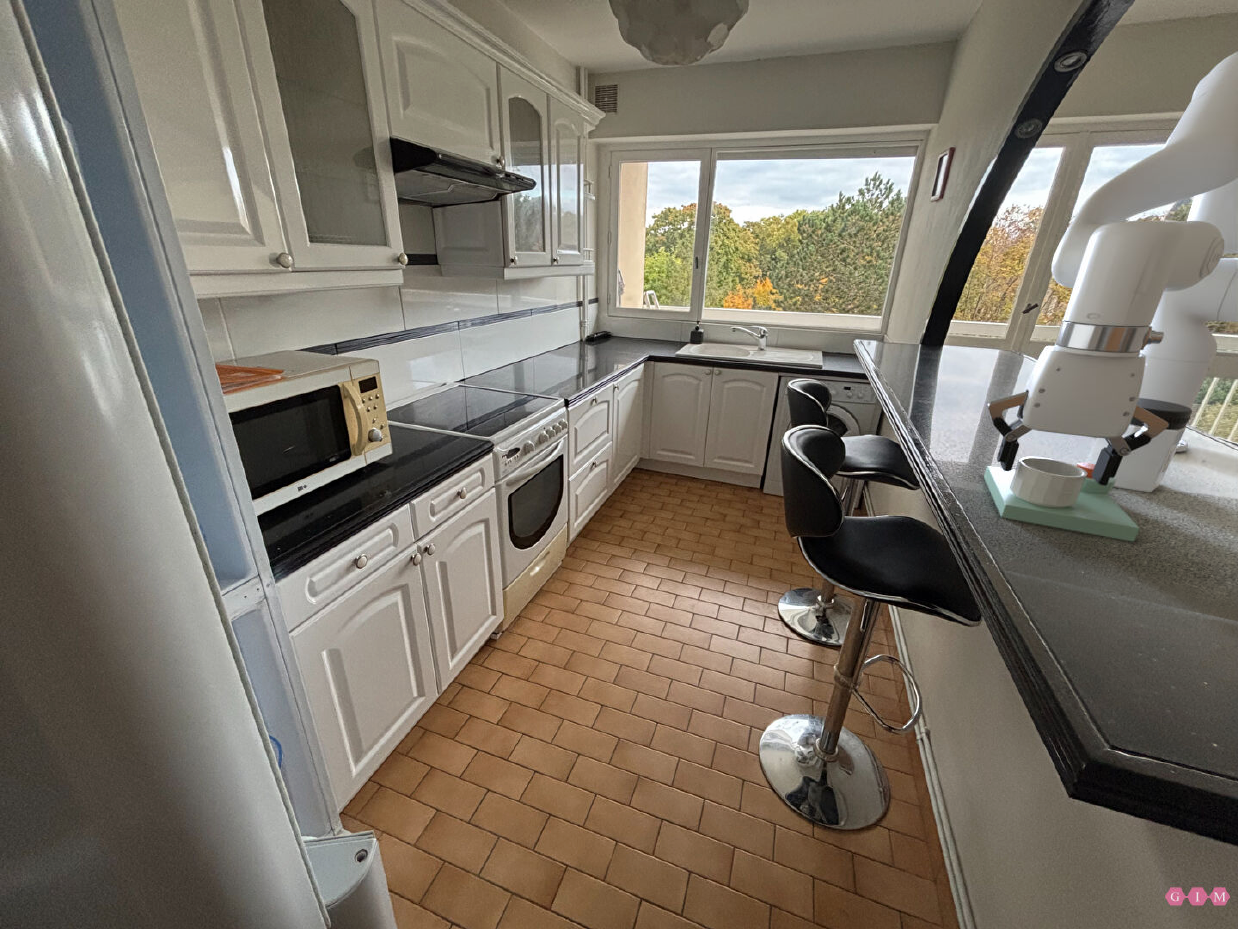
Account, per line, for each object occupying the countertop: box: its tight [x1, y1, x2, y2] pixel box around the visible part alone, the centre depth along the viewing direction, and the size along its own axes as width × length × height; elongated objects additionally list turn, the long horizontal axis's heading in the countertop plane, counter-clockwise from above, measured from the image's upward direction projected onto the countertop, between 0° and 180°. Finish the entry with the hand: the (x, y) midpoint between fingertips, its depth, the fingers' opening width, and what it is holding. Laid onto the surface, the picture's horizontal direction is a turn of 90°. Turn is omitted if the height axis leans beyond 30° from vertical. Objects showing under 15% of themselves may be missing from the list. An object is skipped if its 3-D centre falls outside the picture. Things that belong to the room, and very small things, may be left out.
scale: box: [983, 465, 1141, 543], centre depth 68 cm, size 16×14×4 cm
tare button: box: [1076, 462, 1095, 479], centre depth 70 cm, size 3×3×2 cm
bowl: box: [1010, 456, 1088, 508], centre depth 65 cm, size 7×7×4 cm
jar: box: [1086, 398, 1193, 493], centre depth 75 cm, size 9×8×12 cm
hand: (1050, 474), depth 65 cm, fingers open, 9 cm apart
